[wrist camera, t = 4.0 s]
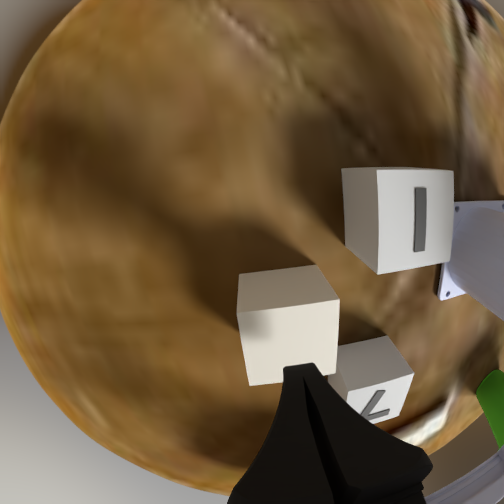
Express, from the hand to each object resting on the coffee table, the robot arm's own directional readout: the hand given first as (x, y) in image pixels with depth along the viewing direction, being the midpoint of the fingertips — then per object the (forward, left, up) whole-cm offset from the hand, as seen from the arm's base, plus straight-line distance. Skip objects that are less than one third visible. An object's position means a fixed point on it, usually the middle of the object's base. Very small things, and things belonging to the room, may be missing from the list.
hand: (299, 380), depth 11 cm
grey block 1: (-7, -6, -8) cm, 12 cm away
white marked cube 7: (-6, +7, -8) cm, 12 cm away
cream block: (0, 0, -8) cm, 8 cm away
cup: (-30, +20, -8) cm, 37 cm away
